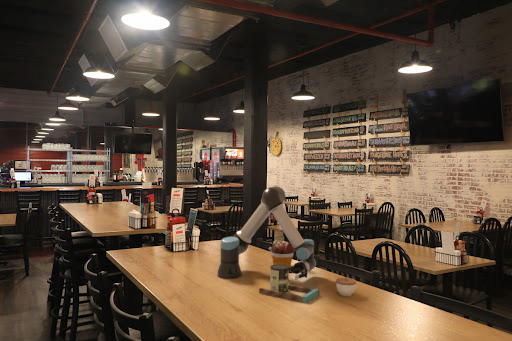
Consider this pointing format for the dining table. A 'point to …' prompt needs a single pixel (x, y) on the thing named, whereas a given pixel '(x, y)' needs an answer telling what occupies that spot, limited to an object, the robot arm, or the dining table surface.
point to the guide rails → (287, 295)
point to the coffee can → (279, 278)
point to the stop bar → (310, 295)
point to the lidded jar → (346, 286)
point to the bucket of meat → (282, 253)
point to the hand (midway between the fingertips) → (284, 275)
